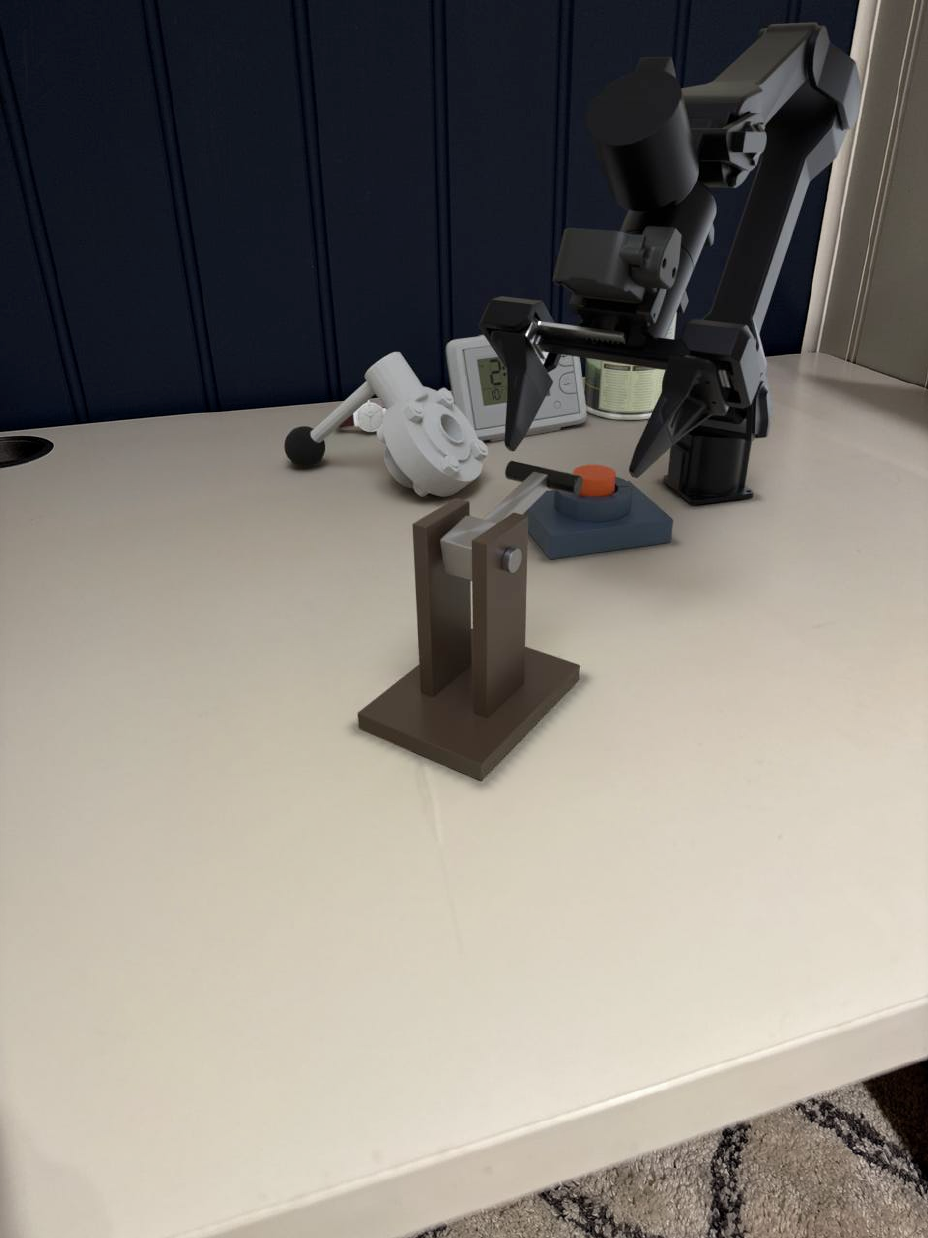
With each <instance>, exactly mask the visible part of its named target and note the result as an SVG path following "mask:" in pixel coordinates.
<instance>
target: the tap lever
mask: <svg viewBox="0 0 928 1238" xmlns="http://www.w3.org/2000/svg"><path fill="white" fill-rule="evenodd" d="M504 474H505V478H506V479H507V480H510V481H513V482H518V483H520V484H519V485H518V486H517V487H515V489H513V490H512V491H511V492H510V493H509V494H508V495H507V496H506V497H505V498H504V499H503V500H502V501H501V502H500V503H499V504H498V505H496V506H495V507H494V509H493V510H492V511H490V512H489V513H488V514H487V515H486V516H485V517H484V518H479V517H475V516H467V515H466V516H465V517H464V518H463V519H461V520H460V521H459V522H458V523H457V524H456V525H455V526H454V527H453V528H452V529H451V530H450V531H449V532H447V533H446V534H445V535H444V536H443V537H442V538H441V539H440V545H441V551H442V558H443V564H444V571H445V573H446V574H450V575H453V576H456V577H459V578H463V579H466V580H469V581H471V582H472V540H473V539H475V538H476V537H478V536H479V535H481V534H482V533H484V532H485V531H487V530H488V529H490V528H491V527H493V526H494V525H496V524H497V523H499V522H500V521H501V520H503V519H504V518H506V517H507V516H509V515H510V514H512V513H518V514H523V513H524V512H525V511H526V510H527V509H529V508H530V507H531V506H532V505H533V504H534V503H535V502H536V501H537V500H538V499H539V498H540V497H541V496H542V495H543V494H544V493H545V492H546V491H549V490H557V491H561V492H565V493H569V494H574V495H578V494H579V493H580V491H581V489H582V485H583V479H582V477H581V476H579V475H574V474H573V473H568V472H564V471H560V470H557V469H551V468H547V467H542V466H538V465H532V464H528V463H524V462H519V461H514V460H510V461H509V462H508V463H507V464H506V466H505V472H504Z"/></svg>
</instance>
